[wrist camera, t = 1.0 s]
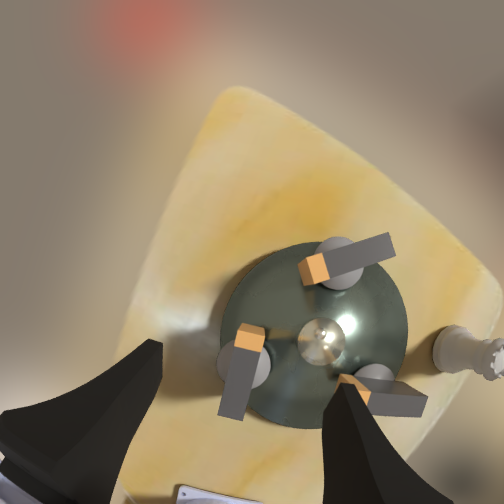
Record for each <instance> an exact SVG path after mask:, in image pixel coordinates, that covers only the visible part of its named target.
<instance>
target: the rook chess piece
mask: <svg viewBox="0 0 504 504" xmlns="http://www.w3.org/2000/svg"><path fill="white" fill-rule="evenodd" d="M433 361H434V364H435V366H436V367H437V368H438V369H439V370H440V371H442V372H447V373H452V374H453V373H457V372H460V371H462V370H465V369H472V370H474V371H475V372H476V373H477V374H483V376H484V377H485V379H486V380H489V381H493V380H495V379H497V378H501V375H502V376H504V339H501V338H498V339H495V340H494V341H491V340H489V339H486V340H483V341H481V340H478V339H476V338H475V337H474V336H473V335H472V333H471V332H470V331H469V330H468V329H467V328H464V327H461V326H457V325H451V326H448V327H446V328H445V329H444V330H443V331H441V332H440V334H439V335H438V337H437V339H436V340H435V343H434V347H433Z"/></svg>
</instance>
